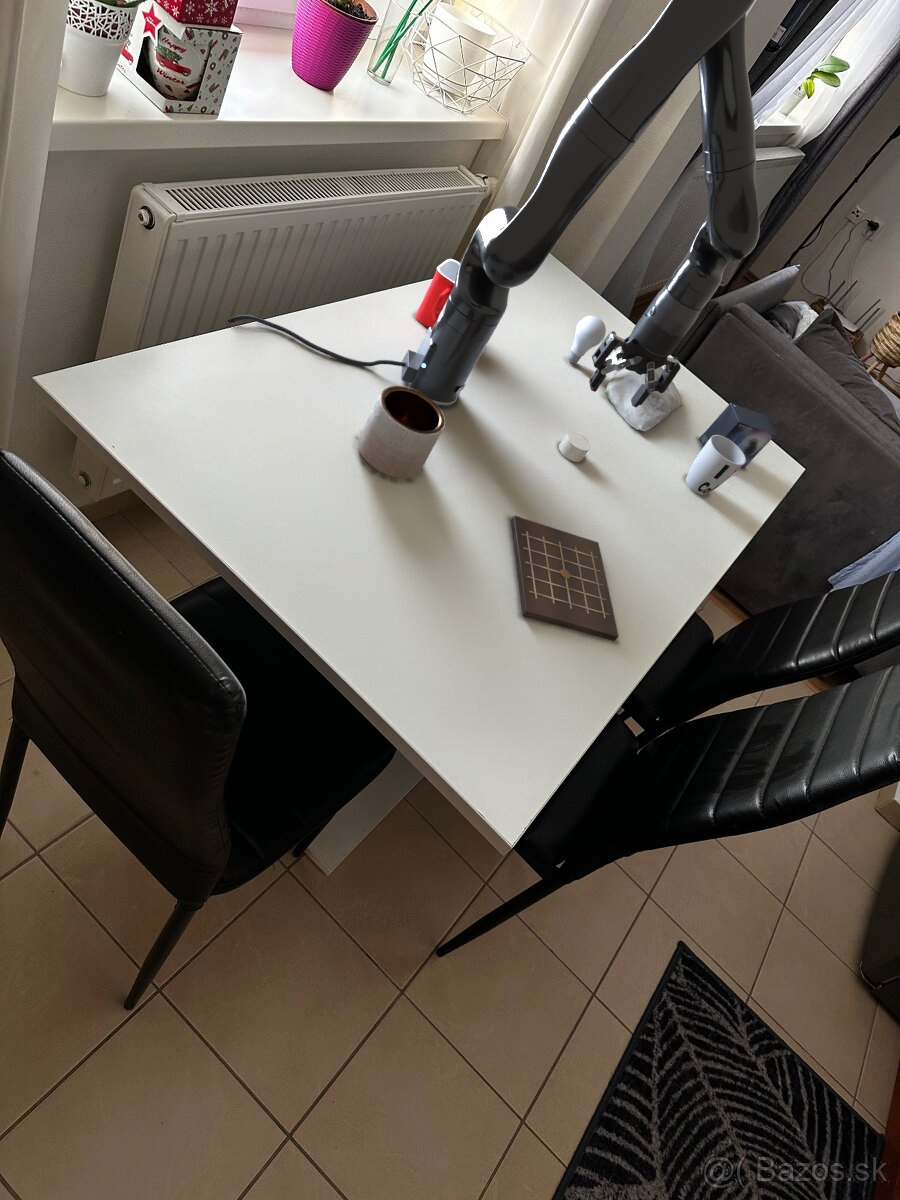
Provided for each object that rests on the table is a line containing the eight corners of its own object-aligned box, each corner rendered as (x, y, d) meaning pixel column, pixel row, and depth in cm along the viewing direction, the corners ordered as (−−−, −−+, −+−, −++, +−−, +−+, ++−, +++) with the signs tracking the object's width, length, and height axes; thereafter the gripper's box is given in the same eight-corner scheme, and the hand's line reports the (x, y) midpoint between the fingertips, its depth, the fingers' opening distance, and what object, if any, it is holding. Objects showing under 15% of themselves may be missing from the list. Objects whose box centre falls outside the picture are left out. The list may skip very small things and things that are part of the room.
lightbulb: (587, 367, 183) (615, 324, 175) (576, 374, 178) (604, 331, 171) (565, 349, 183) (592, 306, 176) (553, 356, 179) (581, 313, 171)
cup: (694, 501, 167) (726, 464, 160) (672, 470, 171) (703, 434, 164) (719, 500, 172) (753, 464, 165) (698, 471, 175) (729, 435, 169)
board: (522, 615, 124) (526, 610, 123) (510, 520, 137) (514, 514, 136) (614, 641, 130) (619, 636, 129) (594, 546, 143) (598, 541, 142)
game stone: (560, 457, 156) (569, 445, 154) (557, 439, 159) (565, 427, 157) (583, 465, 157) (592, 453, 155) (580, 447, 161) (588, 436, 159)
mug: (427, 303, 169) (450, 256, 162) (462, 327, 170) (486, 281, 162) (403, 323, 161) (425, 275, 153) (439, 348, 161) (464, 301, 154)
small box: (706, 458, 181) (739, 421, 174) (697, 437, 185) (728, 401, 178) (744, 470, 185) (778, 434, 178) (735, 450, 189) (767, 414, 182)
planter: (380, 422, 138) (403, 376, 132) (432, 463, 138) (458, 419, 131) (343, 446, 130) (365, 398, 124) (397, 490, 130) (423, 444, 123)
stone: (647, 346, 193) (697, 388, 192) (626, 371, 198) (676, 413, 196) (610, 362, 171) (667, 411, 169) (588, 391, 175) (643, 439, 174)
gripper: (697, 322, 143) (642, 396, 154) (626, 291, 138) (574, 370, 149) (708, 348, 138) (650, 422, 149) (635, 316, 133) (581, 396, 144)
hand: (612, 396), depth 149 cm, fingers open, 8 cm apart
